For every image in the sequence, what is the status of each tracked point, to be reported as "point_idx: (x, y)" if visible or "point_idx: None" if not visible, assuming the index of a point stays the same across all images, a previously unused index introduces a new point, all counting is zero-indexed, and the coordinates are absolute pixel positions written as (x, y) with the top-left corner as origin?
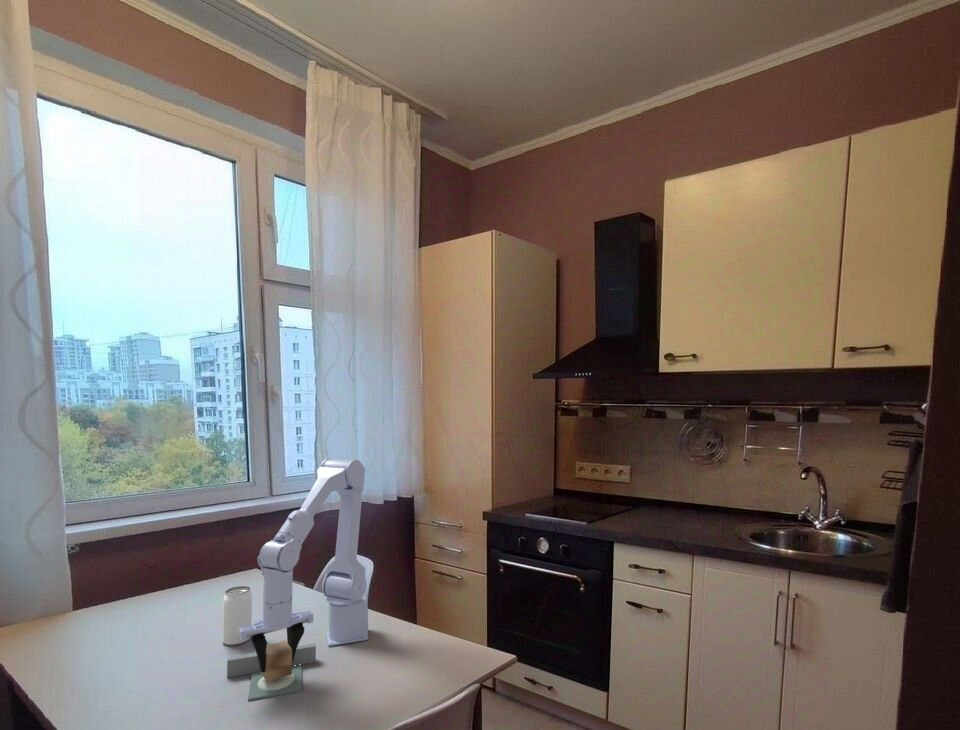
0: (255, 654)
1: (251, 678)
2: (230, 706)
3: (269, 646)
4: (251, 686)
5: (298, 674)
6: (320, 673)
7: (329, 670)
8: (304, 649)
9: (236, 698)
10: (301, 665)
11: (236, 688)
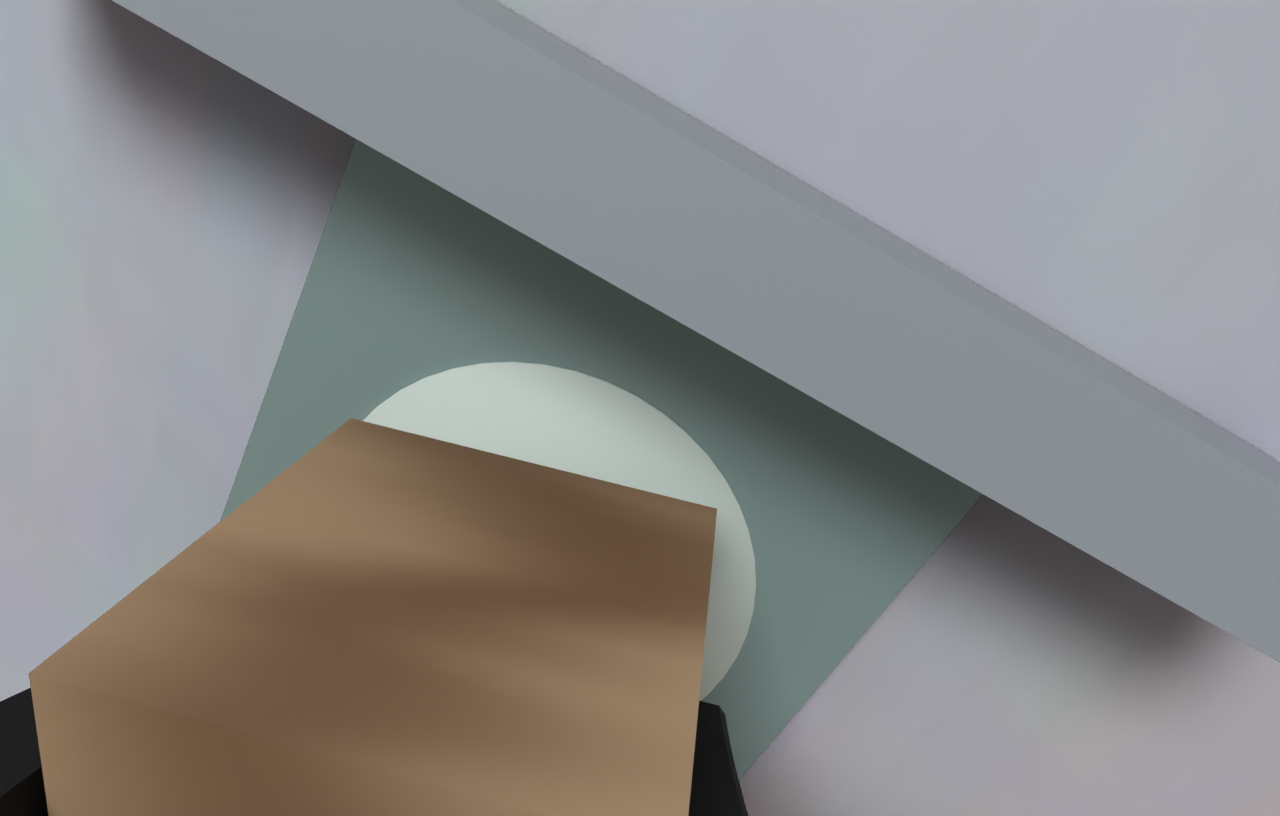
0: (298, 9)
1: (308, 273)
2: (42, 571)
3: (222, 803)
4: (261, 457)
5: (793, 660)
6: (1005, 774)
7: (1121, 804)
8: (1156, 578)
9: (107, 492)
10: (971, 506)
11: (134, 296)
